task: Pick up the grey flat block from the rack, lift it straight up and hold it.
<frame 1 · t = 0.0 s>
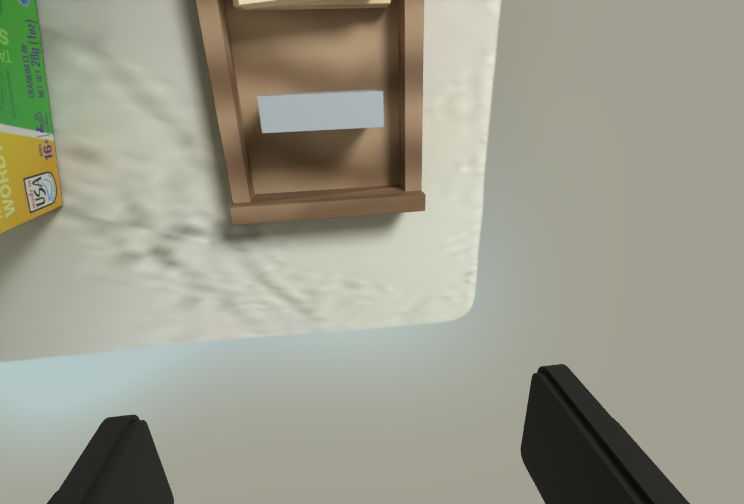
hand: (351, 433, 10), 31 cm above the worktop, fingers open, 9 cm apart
rack: (319, 82, 35), on the worktop
grey flat block: (321, 106, 35), point 1 cm above the worktop, touching rack
game box: (13, 81, 32), on the worktop
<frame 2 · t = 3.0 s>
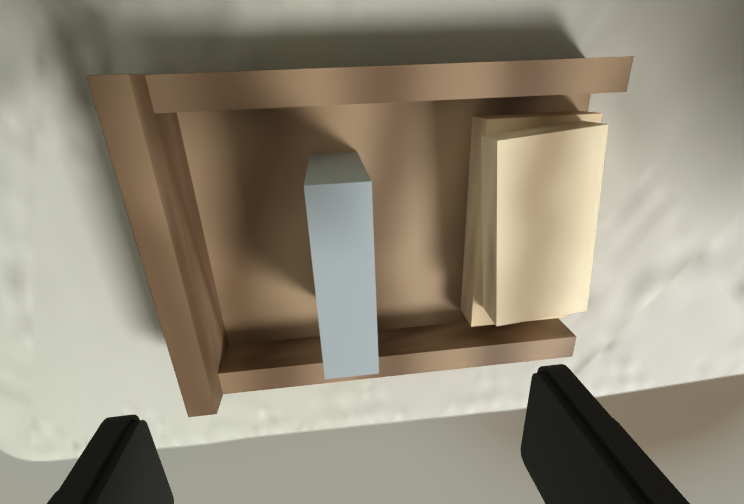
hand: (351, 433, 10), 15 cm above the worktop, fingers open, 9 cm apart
rack: (372, 225, 24), on the worktop
offcut stack: (514, 219, 24), resting on rack
grey flat block: (339, 232, 23), point 1 cm above the worktop, touching rack
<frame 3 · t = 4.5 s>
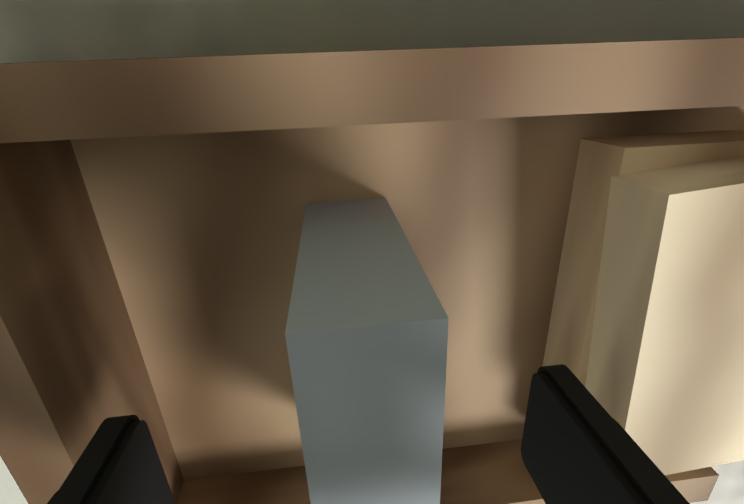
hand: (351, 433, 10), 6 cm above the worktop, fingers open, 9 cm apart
rack: (405, 304, 15), on the worktop
offcut stack: (627, 296, 15), resting on rack
grey flat block: (354, 321, 14), point 1 cm above the worktop, touching rack
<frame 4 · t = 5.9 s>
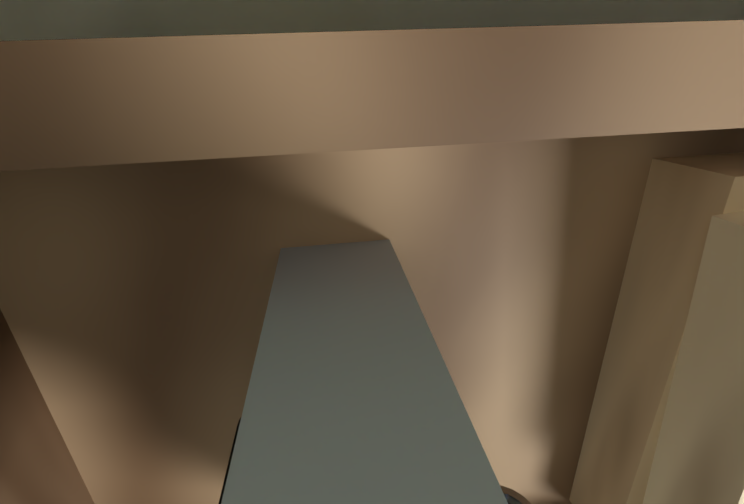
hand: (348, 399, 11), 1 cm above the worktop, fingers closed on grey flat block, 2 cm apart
rack: (413, 367, 12), on the worktop
offcut stack: (694, 353, 12), resting on rack
grey flat block: (348, 394, 11), point 1 cm above the worktop, touching gripper, rack
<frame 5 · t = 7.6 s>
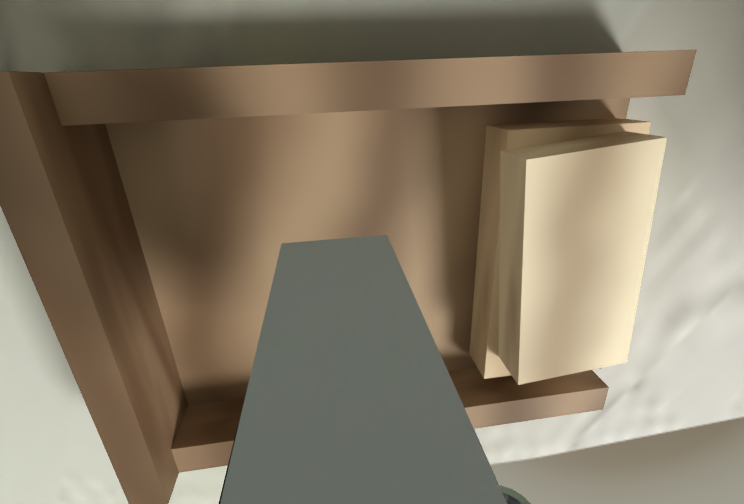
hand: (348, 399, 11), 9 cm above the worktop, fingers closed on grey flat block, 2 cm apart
rack: (363, 257, 19), on the worktop
offcut stack: (534, 248, 19), resting on rack
grey flat block: (347, 386, 11), point 9 cm above the worktop, touching gripper
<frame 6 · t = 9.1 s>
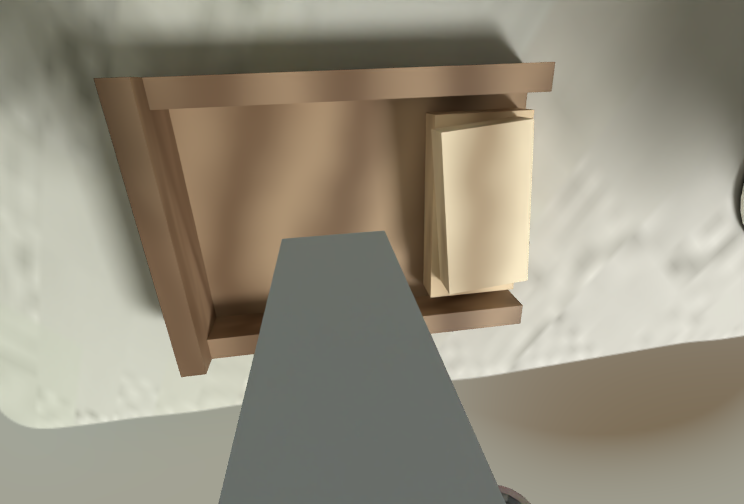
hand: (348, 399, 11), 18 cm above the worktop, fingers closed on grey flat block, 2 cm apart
rack: (342, 208, 27), on the worktop
offcut stack: (467, 202, 27), resting on rack
grey flat block: (346, 379, 11), point 17 cm above the worktop, touching gripper
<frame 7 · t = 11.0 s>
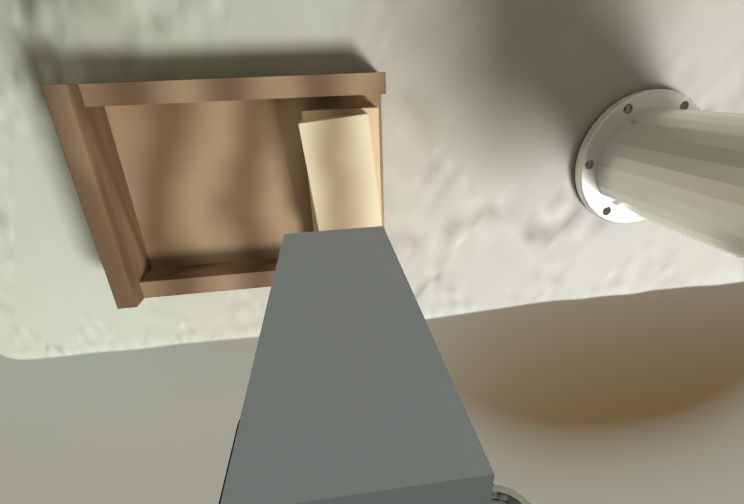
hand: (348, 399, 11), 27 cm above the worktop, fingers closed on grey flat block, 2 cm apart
rack: (247, 184, 35), on the worktop
offcut stack: (343, 179, 35), resting on rack
grey flat block: (345, 371, 12), point 26 cm above the worktop, touching gripper
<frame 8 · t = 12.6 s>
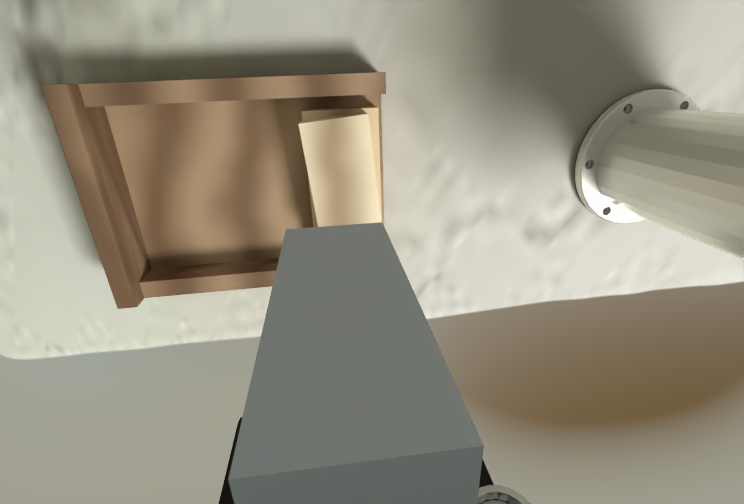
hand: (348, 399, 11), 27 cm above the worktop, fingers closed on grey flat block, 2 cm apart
rack: (247, 184, 35), on the worktop
offcut stack: (343, 179, 35), resting on rack
grey flat block: (345, 364, 12), point 26 cm above the worktop, touching gripper
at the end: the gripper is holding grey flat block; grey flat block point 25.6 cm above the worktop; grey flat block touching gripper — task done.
